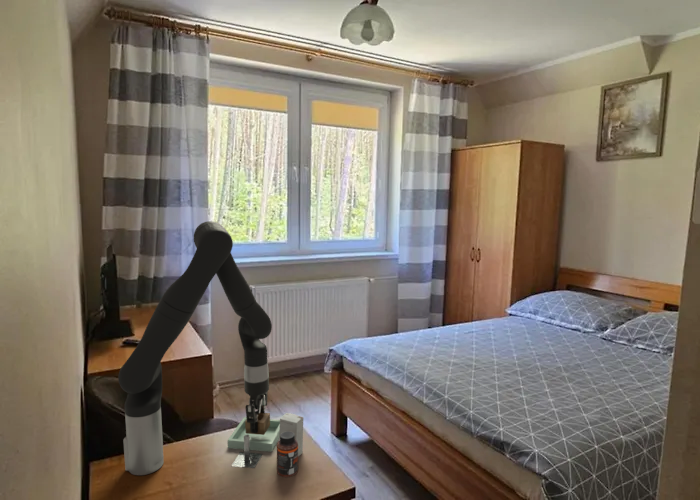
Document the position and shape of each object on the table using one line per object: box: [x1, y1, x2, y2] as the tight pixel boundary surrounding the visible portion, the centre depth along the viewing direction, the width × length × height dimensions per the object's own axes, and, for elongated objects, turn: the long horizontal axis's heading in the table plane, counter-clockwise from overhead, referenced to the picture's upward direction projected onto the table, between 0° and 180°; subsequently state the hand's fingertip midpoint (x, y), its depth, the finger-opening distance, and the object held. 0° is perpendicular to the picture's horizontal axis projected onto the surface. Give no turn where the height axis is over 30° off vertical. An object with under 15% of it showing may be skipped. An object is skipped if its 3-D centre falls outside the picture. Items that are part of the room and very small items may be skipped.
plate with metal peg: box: [231, 435, 263, 469], centre depth 131 cm, size 7×7×8 cm
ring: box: [245, 412, 271, 435], centre depth 143 cm, size 6×7×4 cm
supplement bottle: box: [276, 431, 299, 478], centre depth 126 cm, size 6×6×11 cm
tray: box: [227, 416, 280, 453], centre depth 143 cm, size 14×14×3 cm
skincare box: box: [278, 412, 304, 458], centre depth 134 cm, size 6×4×12 cm
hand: (257, 426), depth 143 cm, fingers closed on ring, 6 cm apart
